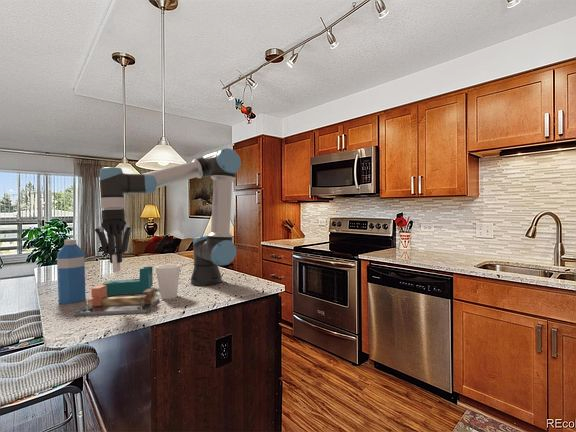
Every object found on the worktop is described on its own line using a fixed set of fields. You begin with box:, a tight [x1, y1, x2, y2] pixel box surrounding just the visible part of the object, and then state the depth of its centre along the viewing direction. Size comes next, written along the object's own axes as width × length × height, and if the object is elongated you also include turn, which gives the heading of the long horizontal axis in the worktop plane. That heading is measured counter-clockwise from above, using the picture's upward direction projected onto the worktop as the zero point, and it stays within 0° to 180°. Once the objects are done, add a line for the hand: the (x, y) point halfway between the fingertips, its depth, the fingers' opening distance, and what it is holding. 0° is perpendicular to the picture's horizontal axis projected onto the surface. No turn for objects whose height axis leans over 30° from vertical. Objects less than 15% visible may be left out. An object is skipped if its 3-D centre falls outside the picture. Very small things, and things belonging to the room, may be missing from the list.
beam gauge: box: [87, 287, 155, 307], centre depth 115 cm, size 23×9×5 cm, turn 95°
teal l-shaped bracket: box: [102, 266, 154, 297], centre depth 141 cm, size 18×11×10 cm, turn 105°
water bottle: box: [56, 238, 87, 305], centre depth 128 cm, size 9×9×25 cm
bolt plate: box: [74, 298, 160, 317], centre depth 116 cm, size 24×14×1 cm, turn 95°
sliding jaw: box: [87, 284, 108, 309], centre depth 115 cm, size 3×9×6 cm, turn 5°
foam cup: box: [155, 263, 181, 300], centre depth 130 cm, size 10×9×13 cm
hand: (116, 271), depth 117 cm, fingers closed
